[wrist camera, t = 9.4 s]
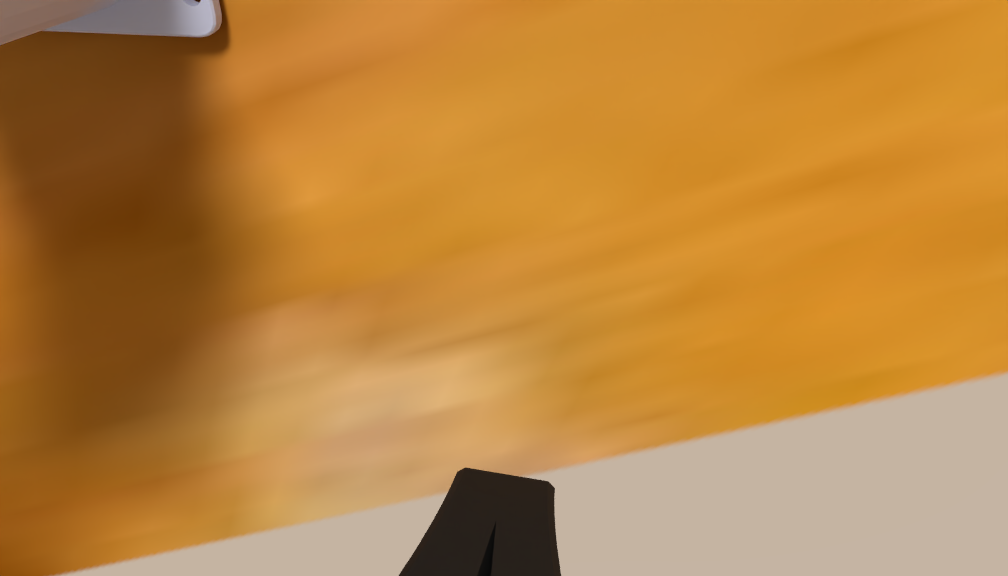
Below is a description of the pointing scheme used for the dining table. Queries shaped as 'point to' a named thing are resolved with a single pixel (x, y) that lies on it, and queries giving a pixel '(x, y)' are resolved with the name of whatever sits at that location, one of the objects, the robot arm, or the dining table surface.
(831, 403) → the dining table surface
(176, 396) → the dining table surface
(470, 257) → the dining table surface
